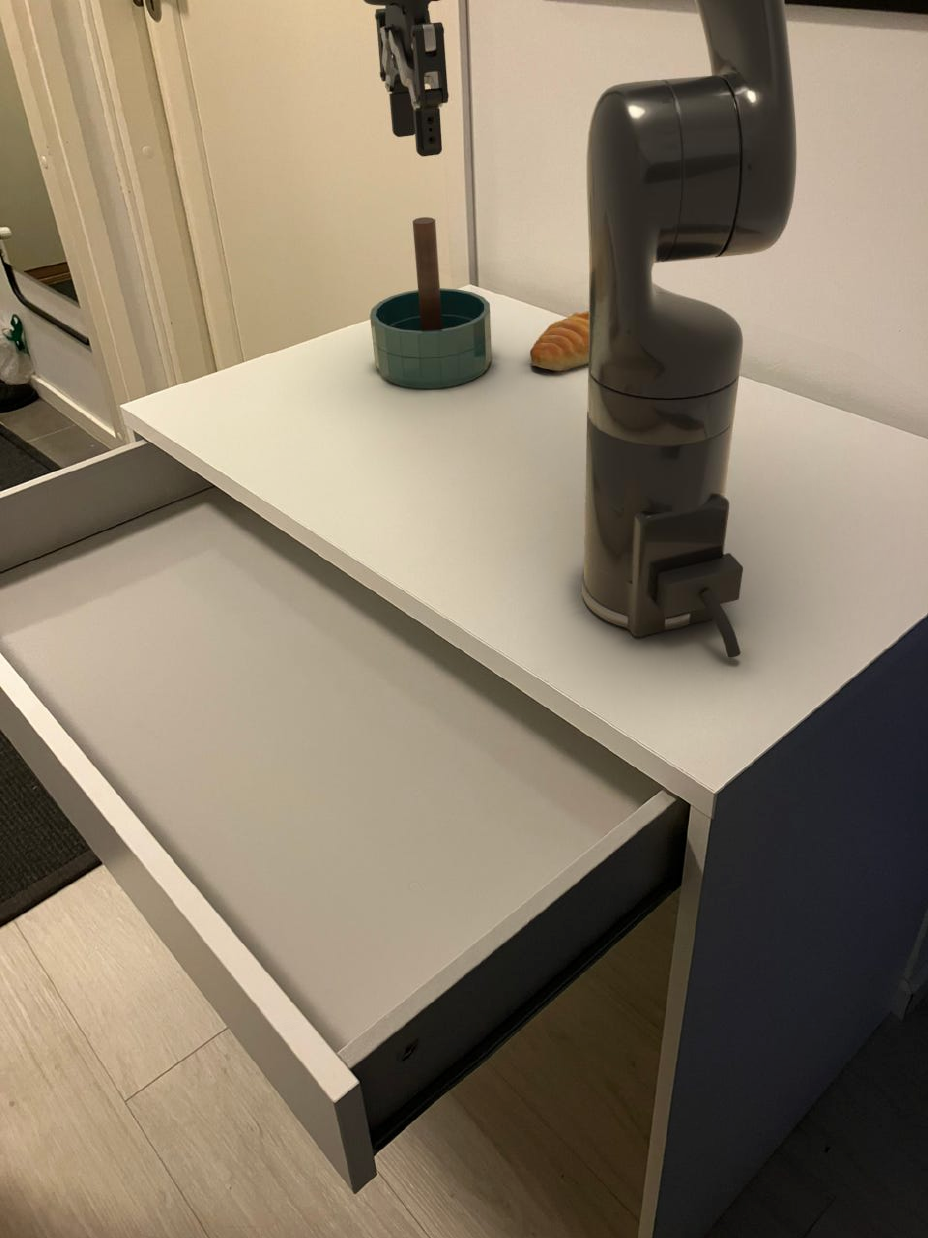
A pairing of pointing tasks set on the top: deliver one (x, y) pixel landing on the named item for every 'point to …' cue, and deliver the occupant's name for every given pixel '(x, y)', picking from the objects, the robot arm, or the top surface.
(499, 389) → the top surface
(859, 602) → the top surface
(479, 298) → the bowl
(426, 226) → the stick
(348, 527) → the top surface
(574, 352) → the pastry
